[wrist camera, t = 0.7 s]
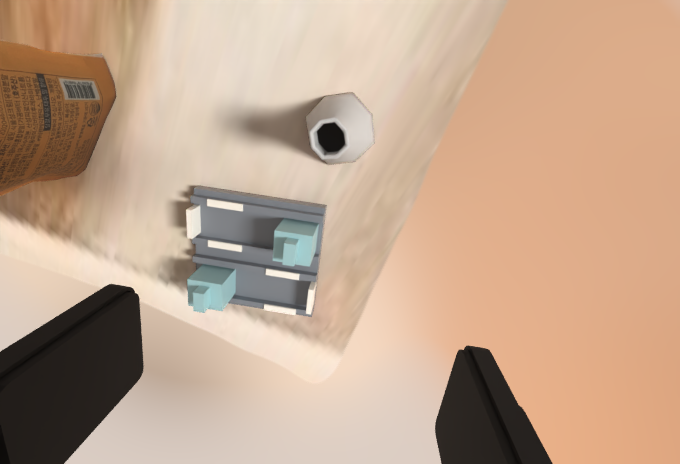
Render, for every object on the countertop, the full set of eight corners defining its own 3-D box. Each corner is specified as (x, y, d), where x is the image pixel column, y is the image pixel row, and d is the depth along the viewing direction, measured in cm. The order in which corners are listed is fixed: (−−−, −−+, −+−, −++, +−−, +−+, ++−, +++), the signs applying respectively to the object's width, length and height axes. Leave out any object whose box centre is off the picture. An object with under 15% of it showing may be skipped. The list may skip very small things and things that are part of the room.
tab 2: (284, 217, 38) (270, 235, 33) (318, 223, 37) (310, 242, 32) (282, 245, 39) (268, 267, 34) (315, 251, 39) (307, 273, 34)
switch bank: (198, 185, 38) (184, 192, 35) (326, 205, 38) (322, 213, 35) (201, 291, 44) (189, 305, 41) (313, 310, 43) (309, 325, 40)
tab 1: (204, 263, 41) (180, 286, 36) (235, 268, 41) (216, 292, 36) (204, 287, 42) (181, 313, 37) (235, 292, 42) (216, 318, 37)
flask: (325, 175, 37) (309, 199, 27) (294, 112, 35) (265, 116, 25) (386, 146, 35) (391, 162, 26) (357, 79, 33) (351, 69, 24)
